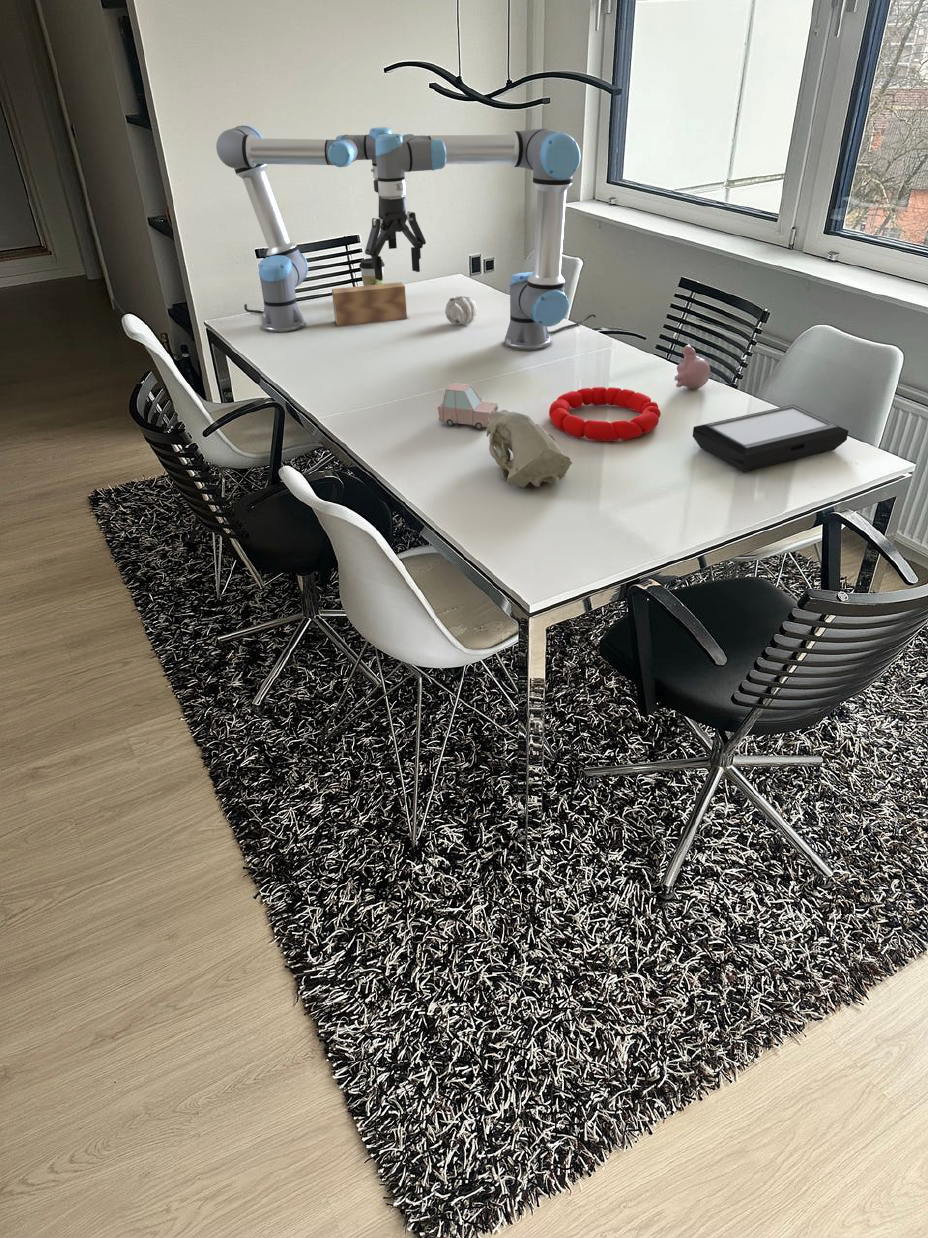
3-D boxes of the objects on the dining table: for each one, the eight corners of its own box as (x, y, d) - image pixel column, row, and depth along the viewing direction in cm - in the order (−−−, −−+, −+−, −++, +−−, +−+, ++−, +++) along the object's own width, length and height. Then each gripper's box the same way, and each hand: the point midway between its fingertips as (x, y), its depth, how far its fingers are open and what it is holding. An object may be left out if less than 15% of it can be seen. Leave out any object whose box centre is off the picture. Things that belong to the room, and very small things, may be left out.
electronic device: (745, 452, 210) (694, 423, 225) (741, 476, 213) (691, 446, 228) (849, 427, 220) (793, 401, 235) (844, 450, 224) (789, 423, 239)
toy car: (488, 432, 240) (488, 396, 234) (436, 426, 244) (434, 390, 239) (499, 419, 247) (499, 384, 241) (448, 413, 252) (447, 379, 246)
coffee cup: (386, 303, 348) (383, 263, 339) (361, 304, 348) (357, 263, 339) (388, 296, 356) (385, 257, 347) (363, 297, 356) (360, 257, 347)
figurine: (665, 387, 264) (669, 347, 257) (693, 380, 268) (698, 340, 261) (686, 396, 257) (690, 355, 250) (714, 388, 262) (720, 348, 255)
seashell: (437, 324, 323) (436, 295, 317) (473, 317, 329) (473, 289, 323) (451, 331, 315) (450, 302, 310) (487, 324, 321) (487, 295, 316)
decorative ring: (589, 435, 224) (684, 402, 234) (527, 398, 247) (617, 369, 256) (589, 461, 229) (683, 427, 238) (529, 422, 251) (617, 393, 260)
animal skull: (496, 517, 219) (521, 479, 201) (463, 429, 225) (484, 384, 207) (557, 503, 225) (586, 465, 206) (523, 417, 231) (549, 373, 212)
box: (403, 313, 336) (401, 281, 329) (406, 318, 331) (404, 286, 324) (335, 321, 330) (331, 288, 324) (337, 326, 325) (334, 293, 319)
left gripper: (367, 174, 315) (372, 238, 327) (380, 184, 295) (385, 252, 307) (387, 172, 316) (392, 236, 328) (402, 183, 296) (406, 250, 308)
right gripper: (363, 204, 241) (370, 285, 253) (435, 191, 254) (438, 269, 266) (348, 201, 246) (355, 280, 258) (419, 189, 259) (423, 265, 271)
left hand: (389, 244), depth 318 cm, fingers open, 13 cm apart
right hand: (397, 275), depth 262 cm, fingers open, 13 cm apart
